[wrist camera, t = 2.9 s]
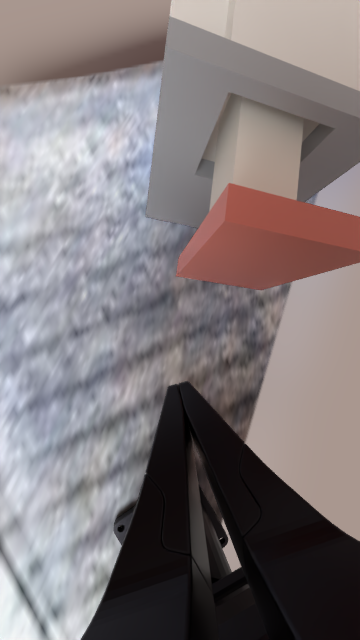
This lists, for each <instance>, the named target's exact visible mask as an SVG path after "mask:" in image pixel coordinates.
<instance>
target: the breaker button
mask: <svg viewBox="0 0 360 640" xmlns="http://www.w3.org/2000/svg"><path fill="white" fill-rule="evenodd" d="M303 124H304V118H303V117H300V116H297V115H294V114H291V113H289V112H286V111H283V110H280V109H277V108H274V107H271V106H268V105H265V104H263V103H260V102H257V101H254V100H251V99H248V98H245V97H242V96H240V95H237V94H234V93H231V95H230V98H229V100H228V102H227V105H226V107H225V109H224V112H223V114H222V116H221V119H220V121H219V128H218V137H217V146H216V155H215V164H214V173H213V182H212V191H211V200H210V209H209V213H208V215H207V216H206V218H205V219H204V221H203V222H202V224H201V225H200V226H199V228H198V229H197V231H196V232H195V234H194V235H193V237H192V238H191V240H190V241H189V243H188V244H187V246H186V247H185V249H184V250H183V252H182V253H181V255H180V256H179V258H178V266H177V275H176V276H178V277H184V278H190V279H196V280H202V281H208V282H214V283H220V284H226V285H232V286H238V287H244V288H251V289H257V290H264V289H267V288H271V287H274V286H278V285H281V284H285V283H288V282H292V281H295V280H299V279H303V278H306V277H309V276H313V275H317V274H320V273H324V272H327V271H331V270H334V269H338V268H342V267H345V266H349V265H352V264H356V263H359V262H360V217H358V216H354V215H350V214H347V213H343V212H339V211H335V210H331V209H328V208H324V207H320V206H316V205H312V204H308V203H305V202H301V201H297V190H298V179H299V168H300V157H301V146H302V135H303Z"/></svg>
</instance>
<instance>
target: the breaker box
mask: <svg viewBox="0 0 360 640" xmlns="http://www.w3.org/2000/svg"><path fill="white" fill-rule="evenodd" d="M231 93H234V94H237V95H240V96H242V97H245V98H248V99H251V100H254V101H257V102H260V103H263V104H265V105H268V106H271V107H274V108H277V109H280V110H283V111H286V112H289V113H291V114H294V115H297V116H300V117H303V118H304V124H303V135H302V146H301V157H300V168H299V179H298V190H297V201H301V202H305V201H307V200H308V199H309V198H311V197H312V196H313V195H315V194H316V193H318V192H319V191H320V190H322V189H323V188H325V187H326V186H327V185H329V184H330V183H331V182H333V181H334V180H336V179H337V178H338V177H340V176H341V175H342V174H344V173H345V172H347V171H348V170H349V169H351V168H352V167H353V166H355V165H356V164H358V163H359V162H360V0H172V1H171V9H170V17H169V23H168V31H167V40H166V47H165V56H164V64H163V73H162V81H161V90H160V98H159V106H158V115H157V123H156V132H155V140H154V149H153V157H152V166H151V174H150V183H149V191H148V200H147V208H146V217H148V218H153V219H158V220H163V221H167V222H172V223H177V224H181V225H186V226H191V227H196V228H199V226H200V225H201V224H202V222H203V221H204V219H205V218H206V216H207V215H208V213H209V209H210V200H211V191H212V182H213V173H214V164H215V155H216V146H217V137H218V128H219V121H220V119H221V116H222V114H223V112H224V109H225V107H226V105H227V102H228V100H229V98H230V95H231Z"/></svg>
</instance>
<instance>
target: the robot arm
mask: <svg viewBox="0 0 360 640" xmlns="http://www.w3.org/2000/svg"><path fill="white" fill-rule="evenodd" d="M189 427H190V428H189ZM190 431H191V432H190ZM191 434H192V436H191ZM192 438H193V441H194V444H195V446H196V449H197V452H198V454H199V457H200V459H201V462H202V465H203V467H204V470H205V472H206V475H207V478H208V480H209V483H210V486H211V488H212V491H213V493H214V496H215V499H216V501H217V504H218V506H219V509H220V512H221V514H222V517H223V519H224V522H225V525H226V527H227V530H228V532H229V535H230V538H231V540H232V543H233V545H234V548H235V551H236V553H237V556H238V558H239V561H240V564H241V566H242V567H241V568H239V569H237V570H235V571H234V572H231V569H230V566H229V564H228V562H227V559H226V557H225V554H224V552H223V550H222V548H223V547H225V546H226V545H227V543H228V537H227V535H226V532H225V530H224V529H223V527H222V525H221V523H220V521H219V520H218V518H217V516H216V514H215V512H214V511H213V509H212V507H211V505H210V503H209V501H208V500H207V498H206V496H205V494H204V492H203V491H202V489H201V487H200V485H199V483H198V478H197V470H196V463H195V455H194V448H193V441H192ZM119 525H124V526H123V527H119ZM114 533H115V535H116V537H117V538H118V540H119V542H120V543H121V545H122V547H121V550H120V552H119V555H118V558H117V561H116V563H115V566H114V569H113V571H112V574H111V577H110V580H109V582H108V585H107V587H106V590H105V593H104V595H103V597H102V600H101V602H100V604H99V606H98V609H97V611H96V613H95V615H94V617H93V619H92V621H91V623H90V624H89V626H88V628H87V630H86V631H85V633H84V635H83V636H82V638H81V640H360V541H358V540H356V539H355V538H353V537H351V536H350V535H348V534H346V533H345V532H343V531H342V530H340V529H339V528H338V527H336V526H335V525H334V524H332V523H331V522H330V521H329V520H327V519H326V518H325V517H324V516H323V515H321V514H320V513H319V512H318V511H317V510H316V509H314V508H313V507H312V506H311V505H310V504H309V503H308V502H307V501H305V500H304V499H303V498H302V497H301V496H300V495H299V494H297V493H296V492H295V491H294V490H293V489H292V488H291V487H289V486H288V485H287V484H286V483H285V482H284V481H283V480H282V479H280V478H279V477H278V476H277V475H276V474H275V473H274V472H273V471H272V470H271V469H270V468H269V467H267V466H266V465H265V464H264V463H263V462H262V460H260V458H259V457H258V456H256V454H255V453H254V452H253V451H252V450H251V449H250V448H249V447H248V446H247V445H246V444H244V441H243V440H242V439H241V438H240V437H239V436H238V435H237V434H236V433H235V432H234V431H233V429H232V428H231V427H230V426H229V425H228V424H227V423H226V422H225V421H224V420H223V418H222V417H221V416H220V415H219V414H218V413H217V412H216V411H215V410H214V409H213V408H212V406H211V405H210V404H209V403H208V402H207V401H206V400H205V399H204V398H203V397H202V396H201V394H200V393H199V392H198V391H197V390H196V389H195V388H194V387H193V386H192V385H191V383H190V382H188V381H185V382H182V383H179V386H178V384H175V385H171V386H169V387H168V388H167V392H166V396H165V400H164V404H163V407H162V411H161V415H160V419H159V423H158V427H157V430H156V434H155V438H154V442H153V446H152V449H151V453H150V457H149V461H148V465H147V469H146V474H145V476H144V480H143V483H142V487H141V491H140V494H139V498H138V501H137V504H136V505H135V506H134V507H133V508H131V509H130V510H129V511H127V512H126V513H124V514H123V515H121V516H120V517H119V518H117V519H116V520H115V522H114ZM222 537H223V538H222ZM220 538H222V539H220ZM219 539H220V540H219Z"/></svg>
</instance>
